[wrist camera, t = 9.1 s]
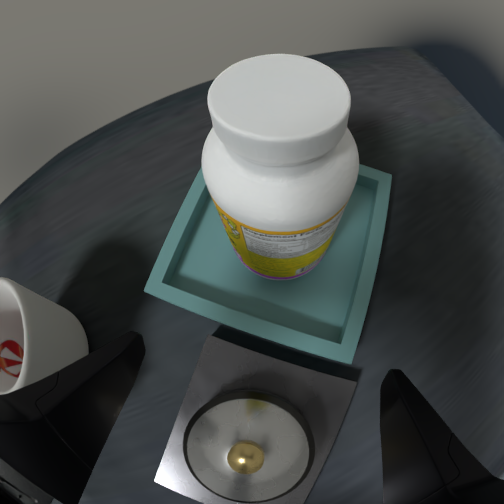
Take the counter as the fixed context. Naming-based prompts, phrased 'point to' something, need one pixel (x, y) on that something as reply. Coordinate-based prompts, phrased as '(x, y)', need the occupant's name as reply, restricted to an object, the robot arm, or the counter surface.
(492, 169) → the counter surface
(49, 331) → the cup
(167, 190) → the counter surface
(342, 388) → the block
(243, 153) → the supplement bottle
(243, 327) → the tray
